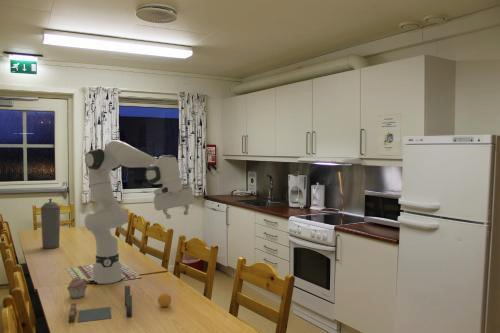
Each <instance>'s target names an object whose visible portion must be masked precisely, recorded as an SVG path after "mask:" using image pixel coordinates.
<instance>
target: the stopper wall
mask: <svg viewBox="0 0 500 333" xmlns="http://www.w3.org/2000/svg"><path fill="white" fill-rule="evenodd" d="M69 308H70V309H69V312H68V313H69V314H68V324H73V323H75V319H76V313H77V303H70V307H69Z"/></svg>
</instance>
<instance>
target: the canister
mask: <svg viewBox="0 0 500 333" xmlns="http://www.w3.org/2000/svg"><path fill="white" fill-rule="evenodd" d="M52 200H53V198H49V199H48V202H45V203H43V205H41V207H40V219H41V242H42V243H41V245H42V248H43V249H46V250H47V249H49V250H50V249H57V248H58V247H59V246H60V234H61V233H60V231H61V230H60V224H61V206H60V205H59V204H58V203H57V202H55V201H52Z"/></svg>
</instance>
